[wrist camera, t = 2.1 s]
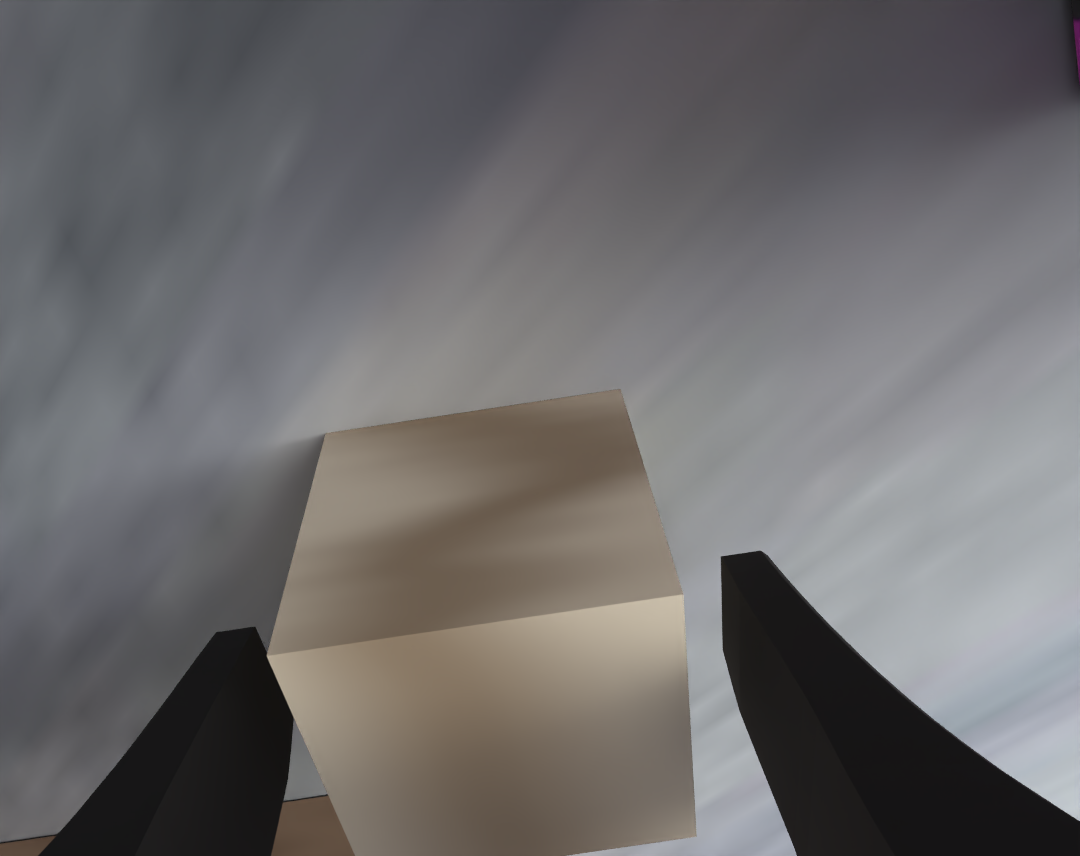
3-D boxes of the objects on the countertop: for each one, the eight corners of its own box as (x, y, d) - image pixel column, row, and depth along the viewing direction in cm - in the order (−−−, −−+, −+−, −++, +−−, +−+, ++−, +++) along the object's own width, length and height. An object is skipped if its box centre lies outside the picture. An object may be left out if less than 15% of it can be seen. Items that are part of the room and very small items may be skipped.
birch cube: (619, 386, 14) (682, 593, 10) (639, 601, 17) (696, 836, 13) (326, 430, 14) (266, 655, 10) (392, 637, 17) (367, 884, 13)
